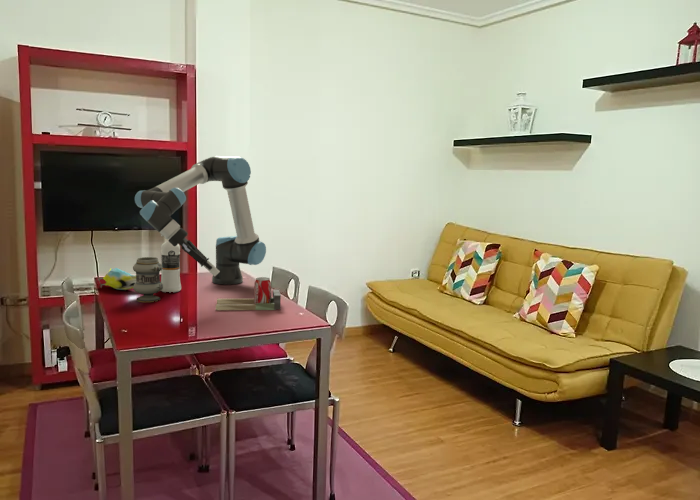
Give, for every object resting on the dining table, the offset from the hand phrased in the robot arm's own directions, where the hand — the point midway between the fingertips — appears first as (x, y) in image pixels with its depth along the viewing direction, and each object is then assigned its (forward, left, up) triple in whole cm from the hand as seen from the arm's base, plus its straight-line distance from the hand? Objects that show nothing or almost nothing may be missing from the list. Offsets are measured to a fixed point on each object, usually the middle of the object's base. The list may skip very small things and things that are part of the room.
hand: (217, 273), depth 232 cm
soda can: (0, +19, -14) cm, 23 cm away
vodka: (-31, -22, -14) cm, 41 cm away
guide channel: (0, +13, -14) cm, 19 cm away
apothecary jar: (-13, -29, -14) cm, 35 cm away
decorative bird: (-39, -42, -14) cm, 59 cm away
